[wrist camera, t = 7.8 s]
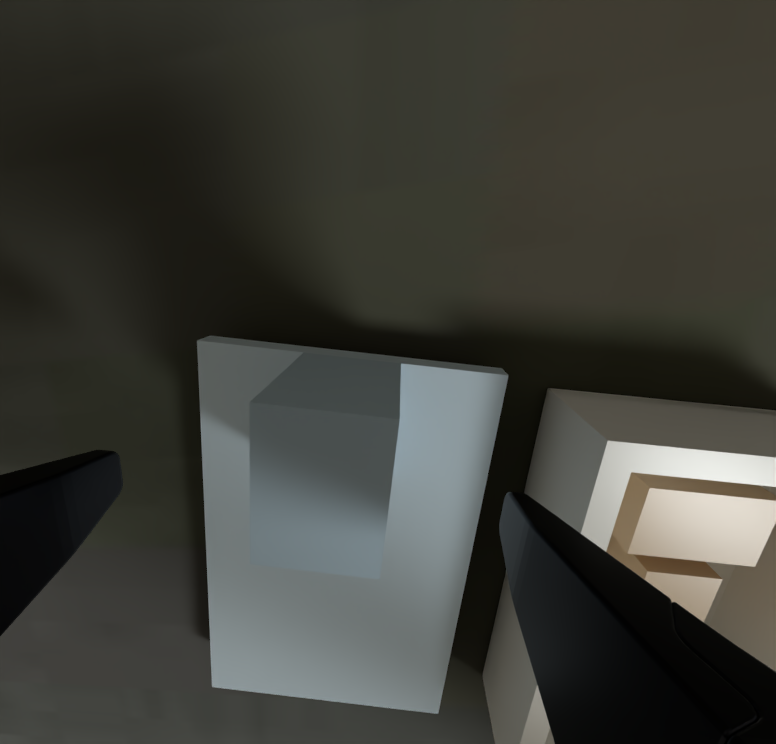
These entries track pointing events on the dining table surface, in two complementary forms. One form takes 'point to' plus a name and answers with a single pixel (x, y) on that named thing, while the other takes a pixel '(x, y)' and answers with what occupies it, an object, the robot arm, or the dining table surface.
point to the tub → (651, 522)
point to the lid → (340, 516)
